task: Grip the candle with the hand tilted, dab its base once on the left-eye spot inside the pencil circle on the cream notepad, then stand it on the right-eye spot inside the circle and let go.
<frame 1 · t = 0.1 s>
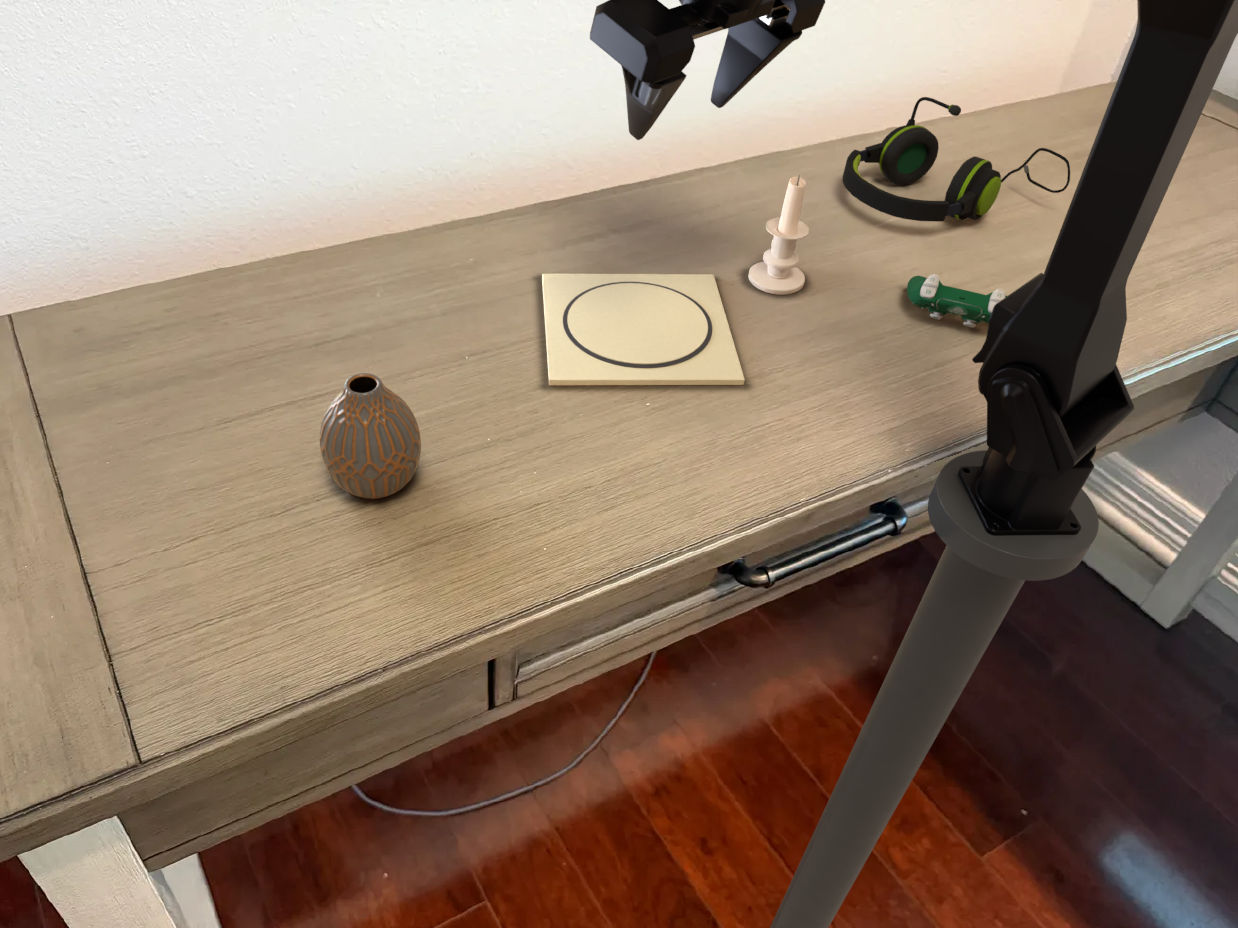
hand: (676, 120, 75), 17 cm above the table, tool pointing down, fingers open, 9 cm apart
vase: (376, 481, 71), on the table
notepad: (636, 328, 85), on the table
candle: (775, 281, 92), on the table
headphones: (932, 205, 104), on the table
gaming controller: (952, 318, 89), on the table
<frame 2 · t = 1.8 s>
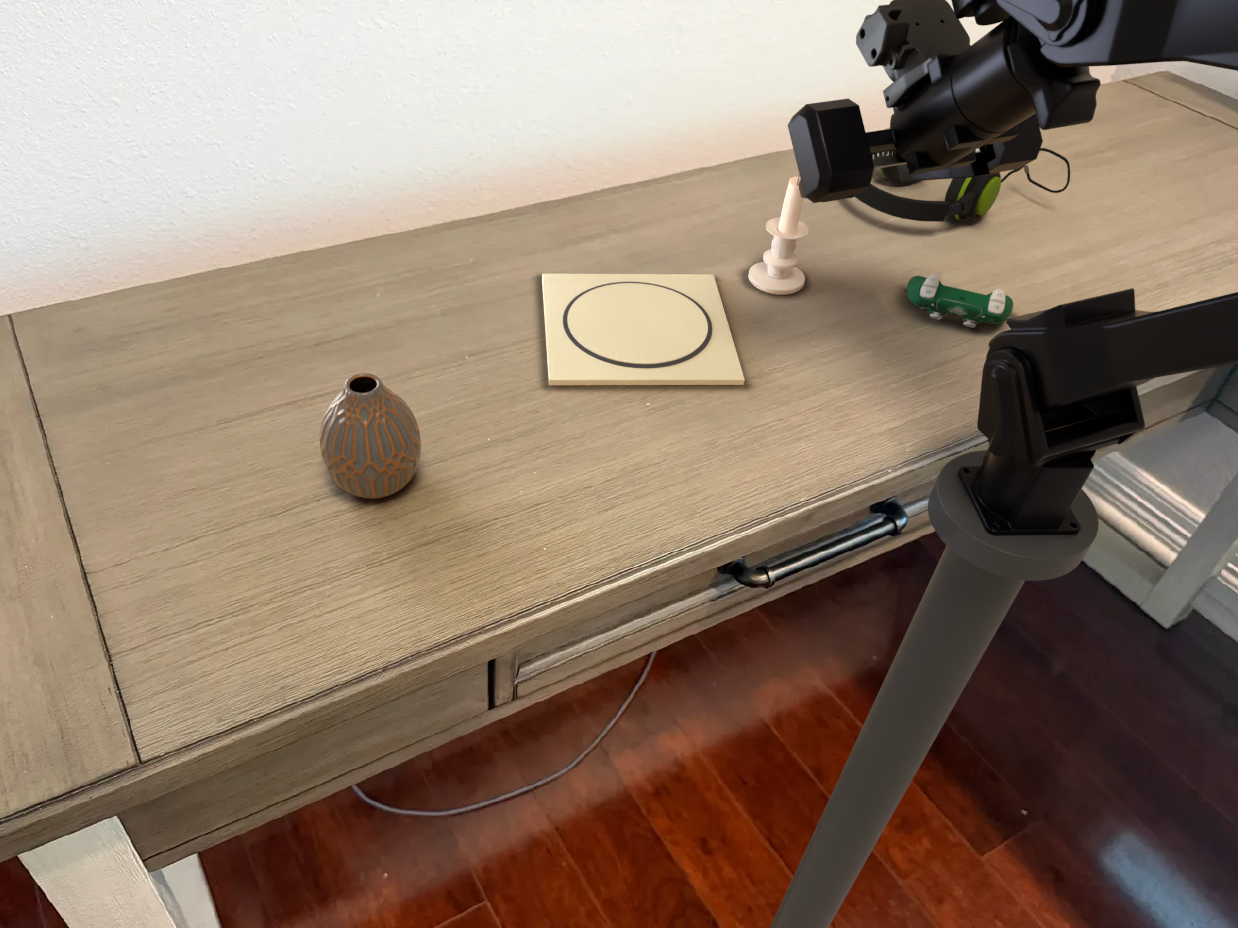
hand: (852, 182, 77), 14 cm above the table, tool tilted 45°, fingers open, 9 cm apart
nothing on the table moved.
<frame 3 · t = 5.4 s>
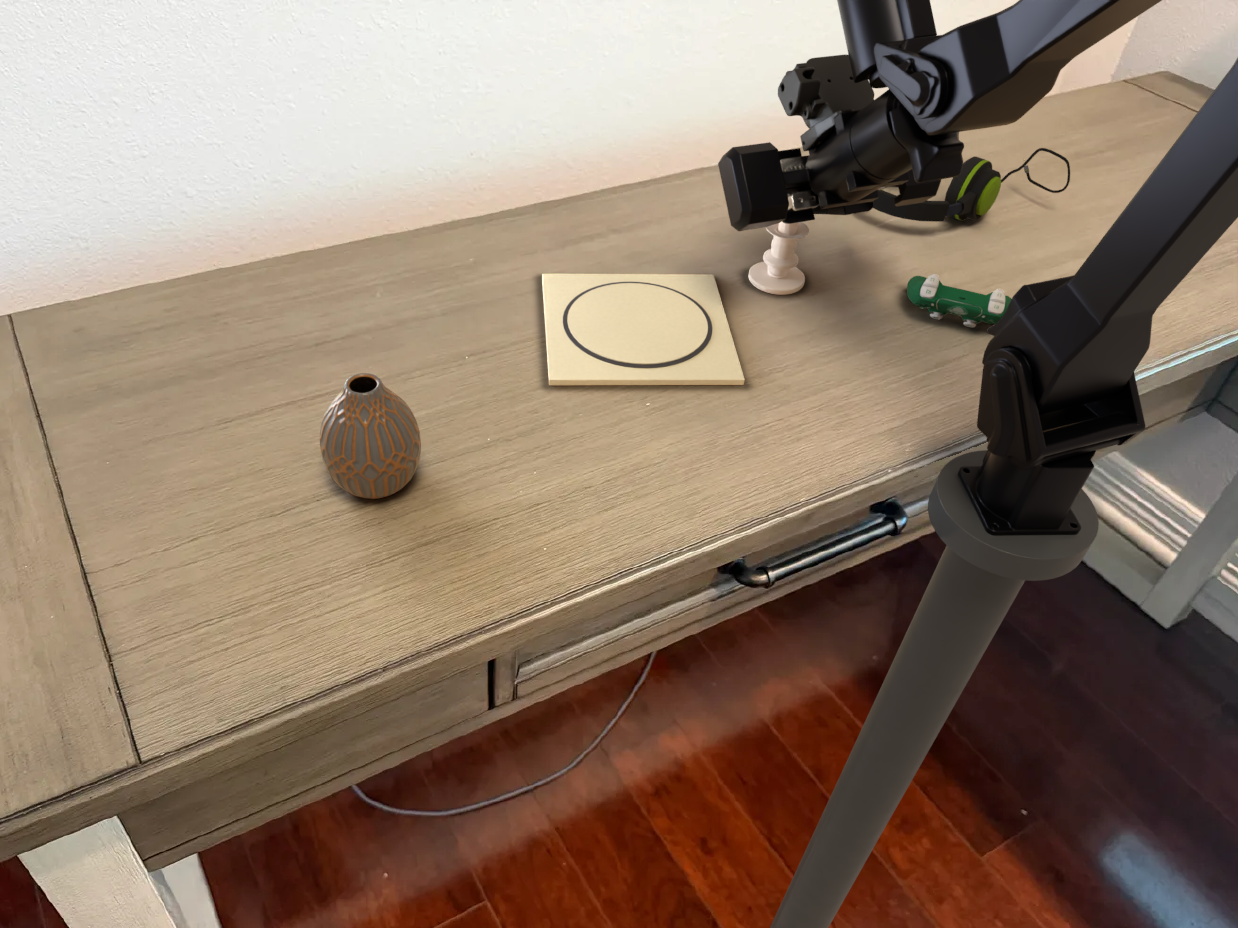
hand: (782, 208, 88), 7 cm above the table, tool tilted 45°, fingers closed on candle
candle: (775, 281, 92), on the table, touching gripper
everything else where it was.
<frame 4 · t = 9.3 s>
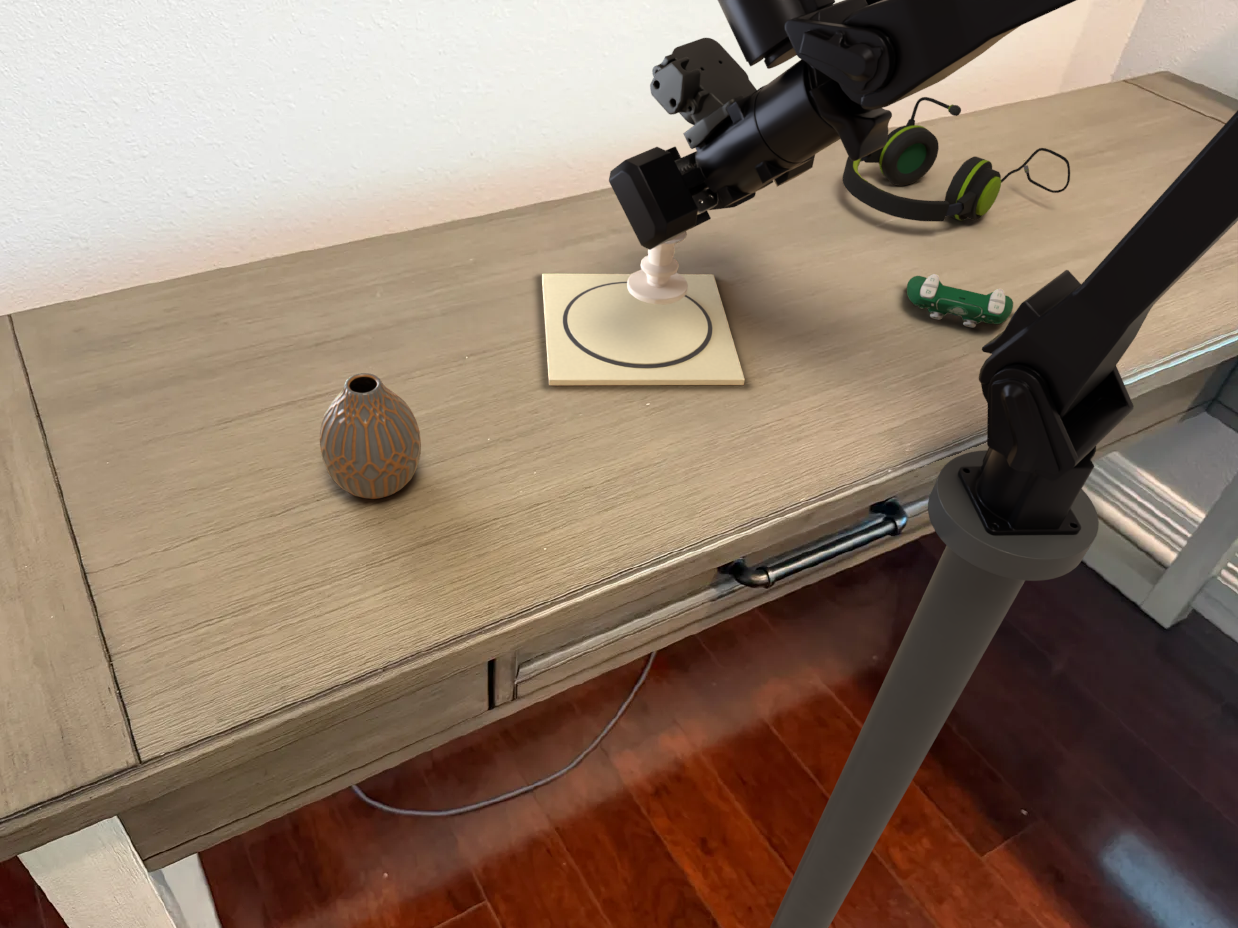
hand: (652, 212, 81), 9 cm above the table, tool tilted 45°, fingers closed on candle
candle: (656, 290, 85), point 3 cm above the table, touching gripper
everything else where it was.
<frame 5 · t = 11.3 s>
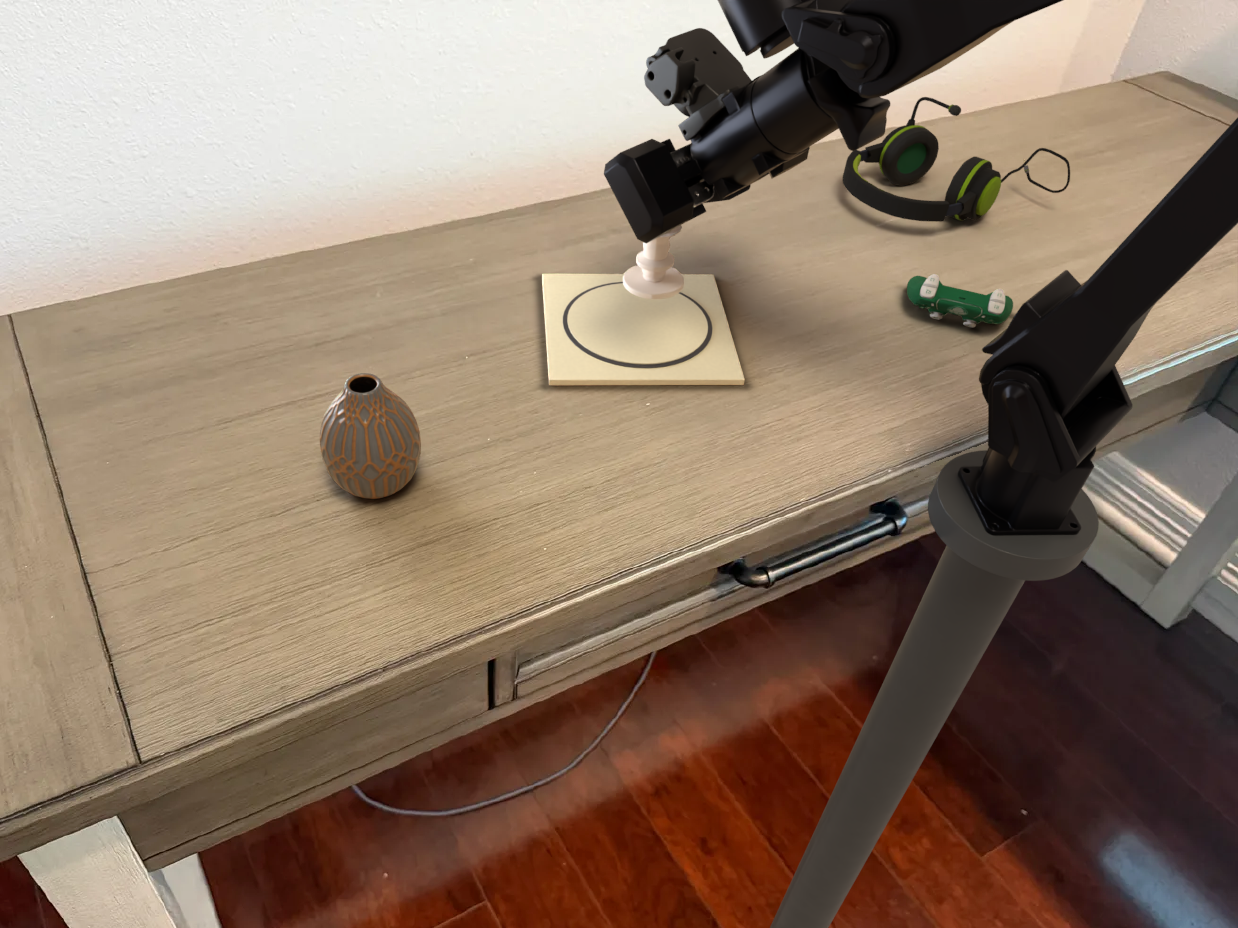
hand: (646, 206, 80), 10 cm above the table, tool tilted 45°, fingers closed on candle
candle: (653, 285, 84), point 4 cm above the table, touching gripper
everything else where it was.
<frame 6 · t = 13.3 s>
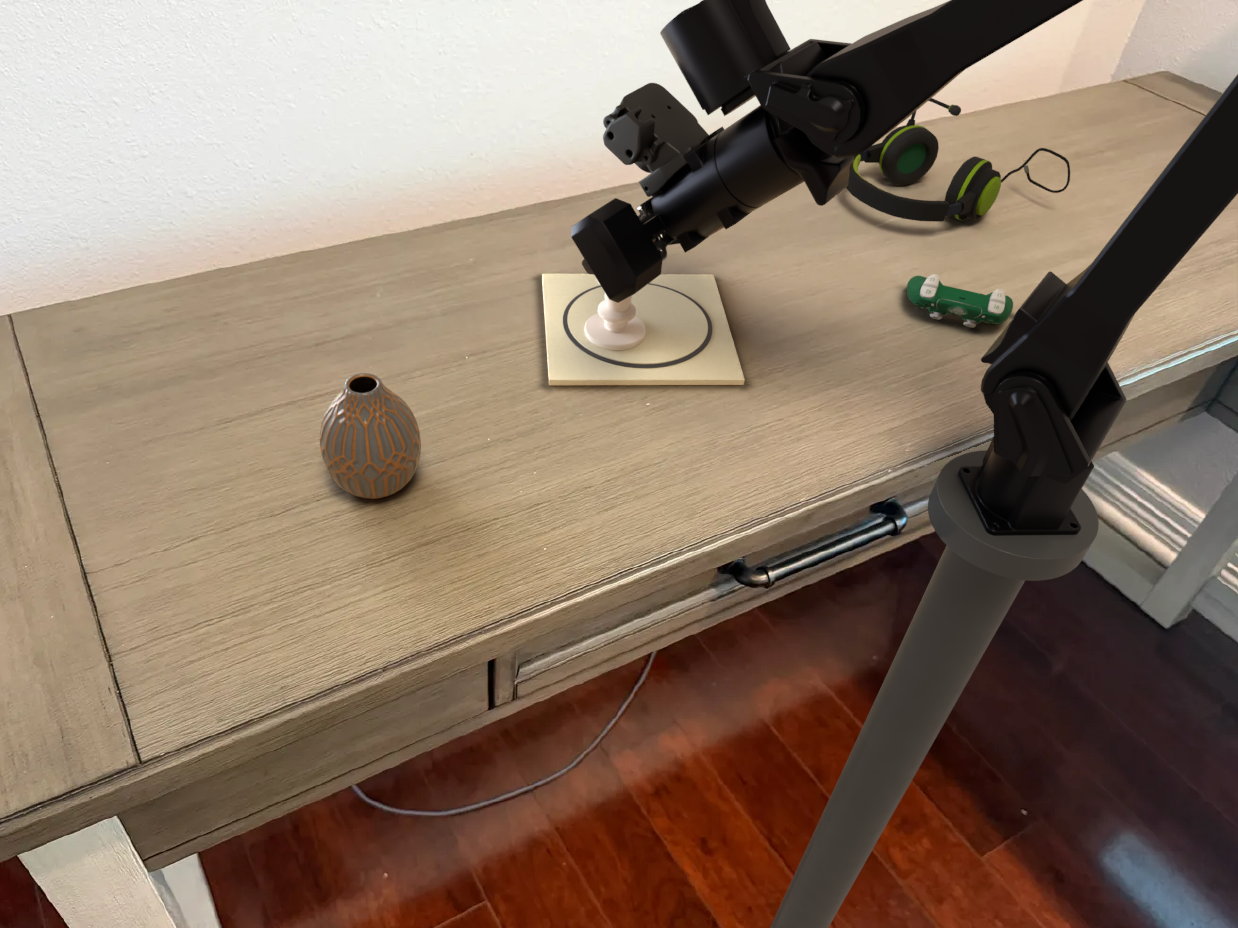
hand: (602, 256, 80), 7 cm above the table, tool tilted 45°, fingers open, 4 cm apart
candle: (614, 334, 84), point 1 cm above the table, touching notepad
everything else where it was.
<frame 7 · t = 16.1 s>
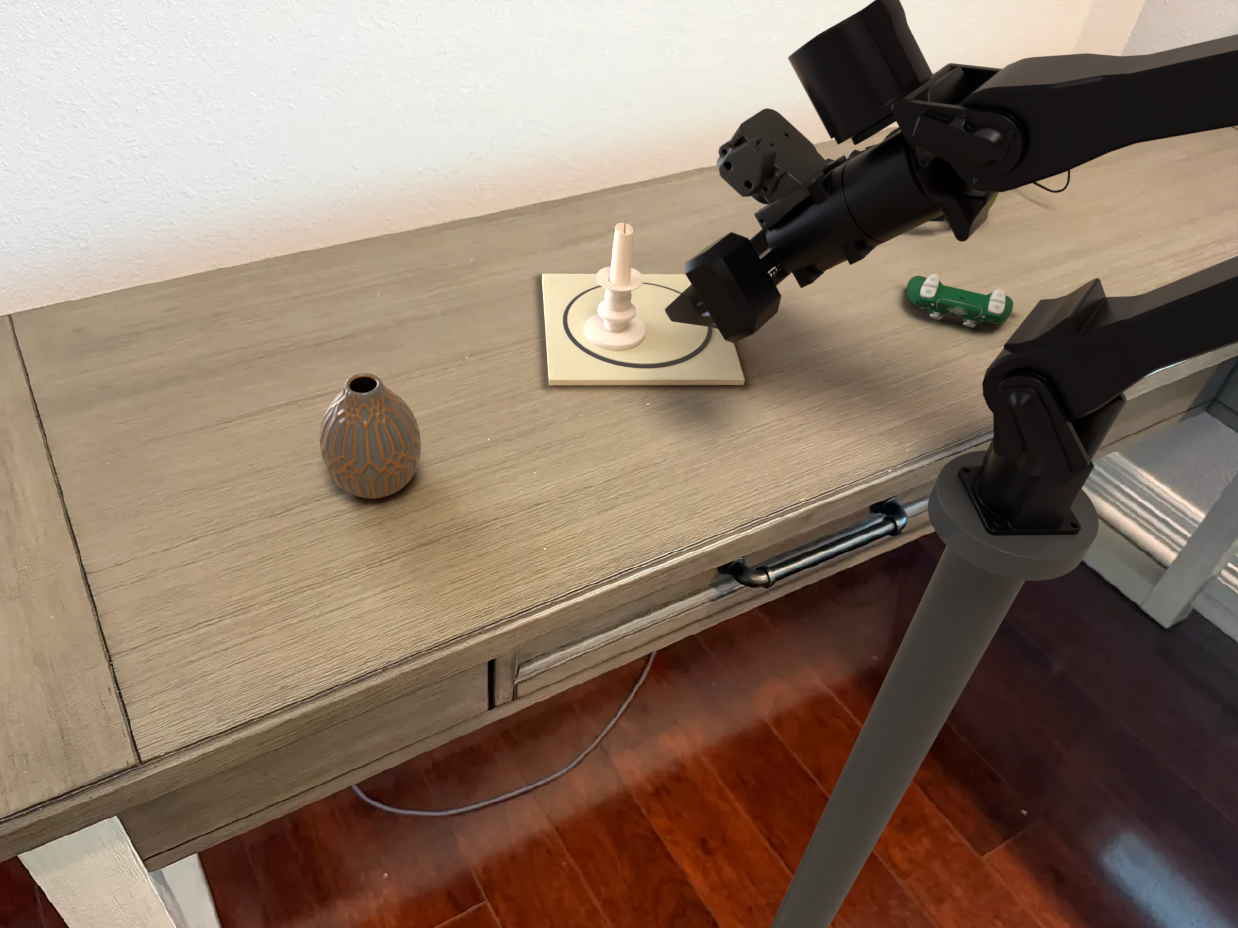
hand: (701, 289, 75), 8 cm above the table, tool tilted 45°, fingers open, 9 cm apart
nothing on the table moved.
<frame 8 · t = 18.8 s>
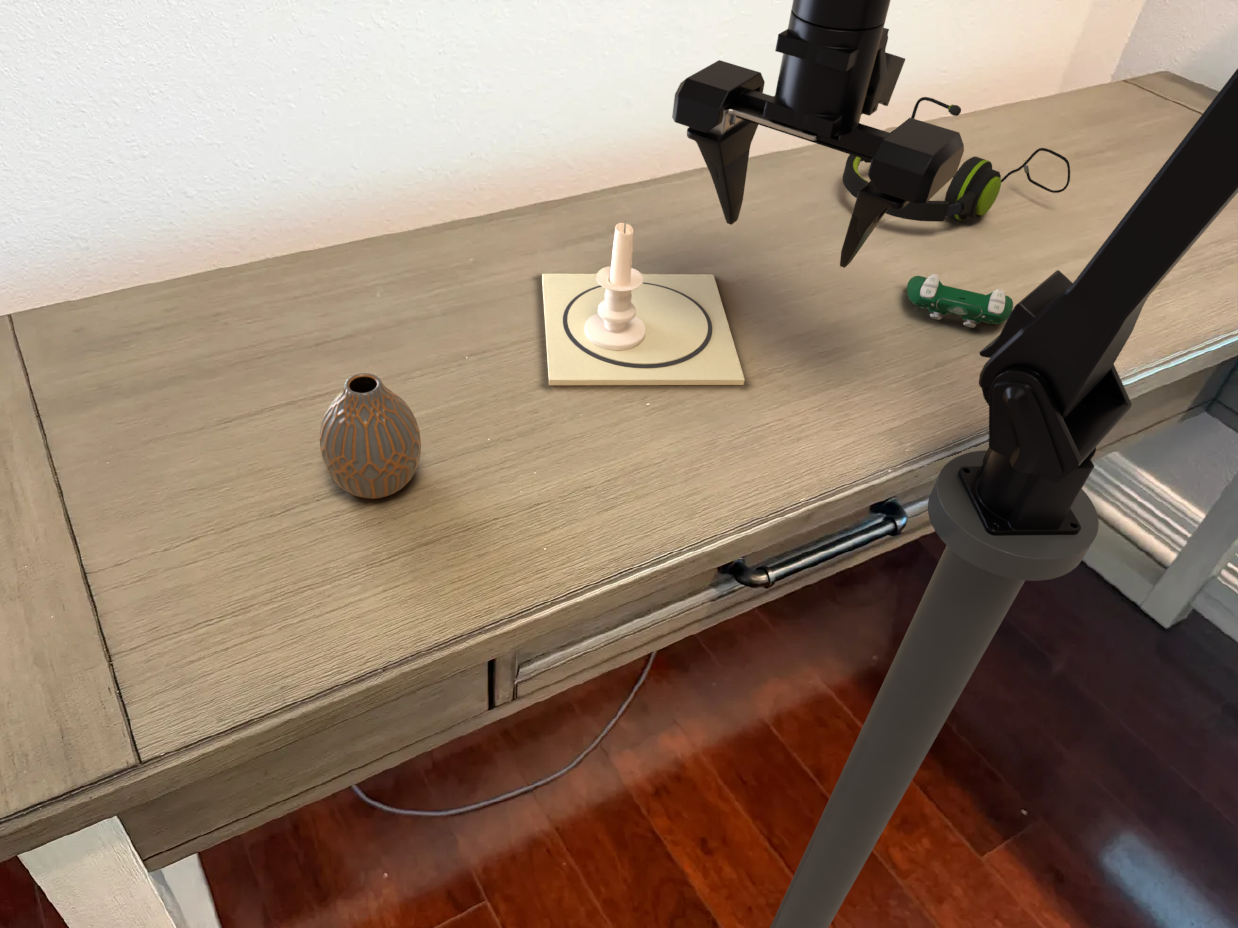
hand: (787, 242, 71), 13 cm above the table, tool pointing down, fingers open, 9 cm apart
nothing on the table moved.
at the end: candle 0.3 cm from the target spot on the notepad, point 0.6 cm above the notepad's base; candle tilted 0°; the gripper is holding nothing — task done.
